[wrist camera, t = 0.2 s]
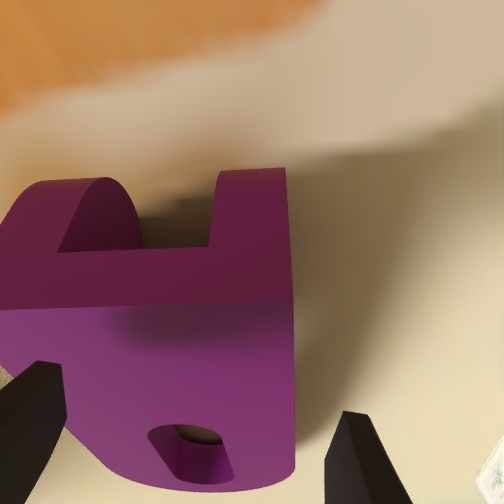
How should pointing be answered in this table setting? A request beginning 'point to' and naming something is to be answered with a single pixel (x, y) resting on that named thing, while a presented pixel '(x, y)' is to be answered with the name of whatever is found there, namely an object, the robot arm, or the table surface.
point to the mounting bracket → (159, 328)
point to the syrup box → (493, 476)
